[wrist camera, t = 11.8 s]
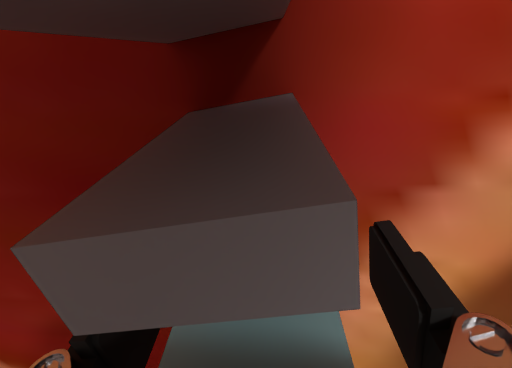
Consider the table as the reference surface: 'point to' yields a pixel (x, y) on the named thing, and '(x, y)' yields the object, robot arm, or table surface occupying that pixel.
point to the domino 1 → (137, 17)
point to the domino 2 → (205, 228)
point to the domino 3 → (261, 343)
